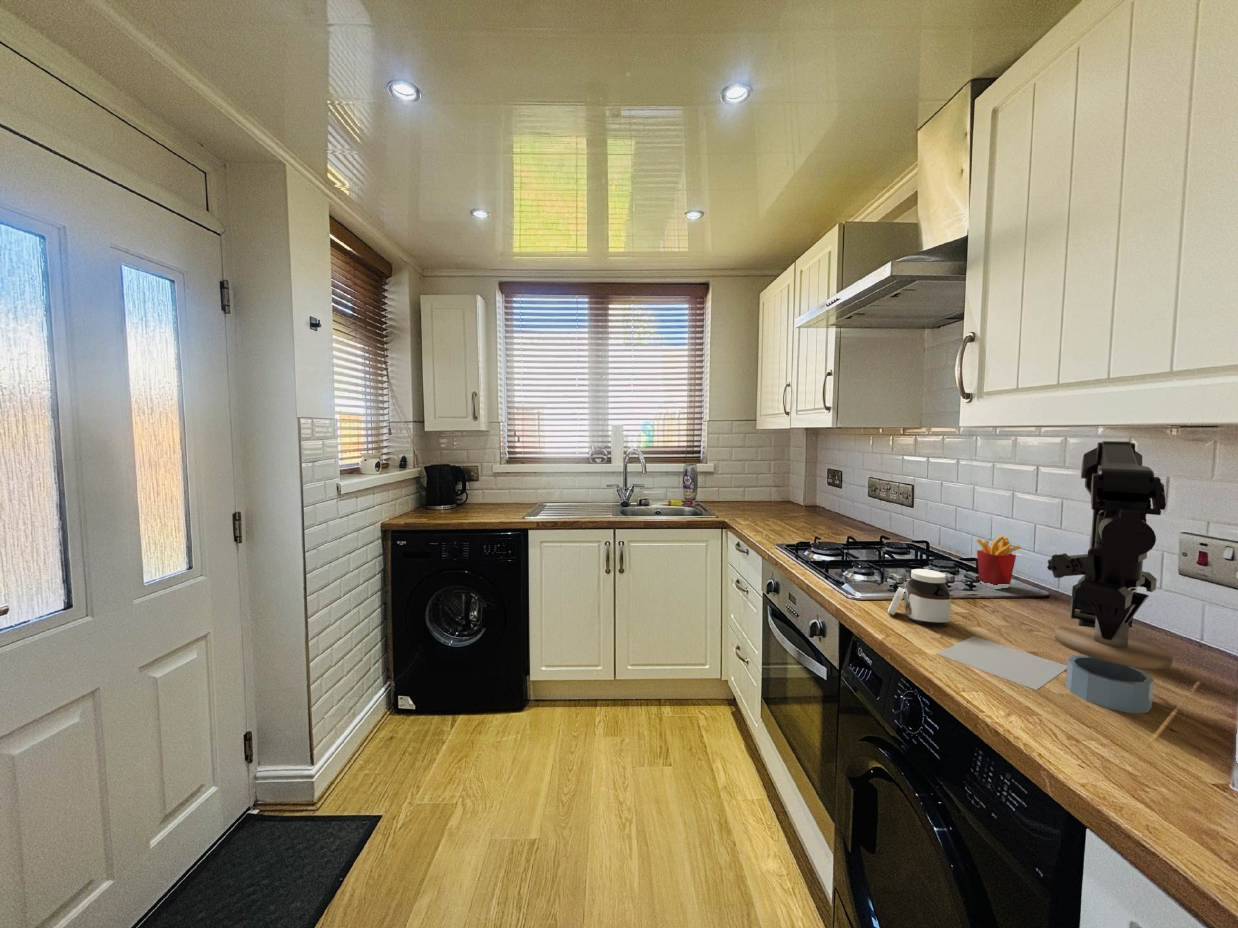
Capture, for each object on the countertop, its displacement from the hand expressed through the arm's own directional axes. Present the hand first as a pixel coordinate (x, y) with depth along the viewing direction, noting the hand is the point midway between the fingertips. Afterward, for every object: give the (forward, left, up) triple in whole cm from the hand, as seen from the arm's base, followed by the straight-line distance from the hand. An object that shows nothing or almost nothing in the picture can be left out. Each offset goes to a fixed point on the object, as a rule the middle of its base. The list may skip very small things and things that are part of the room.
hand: (1111, 636), depth 83 cm
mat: (0, -15, -11) cm, 18 cm away
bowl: (0, 0, -11) cm, 11 cm away
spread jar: (-8, -35, -11) cm, 37 cm away
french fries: (-54, -35, -11) cm, 65 cm away
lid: (0, 0, -2) cm, 2 cm away
